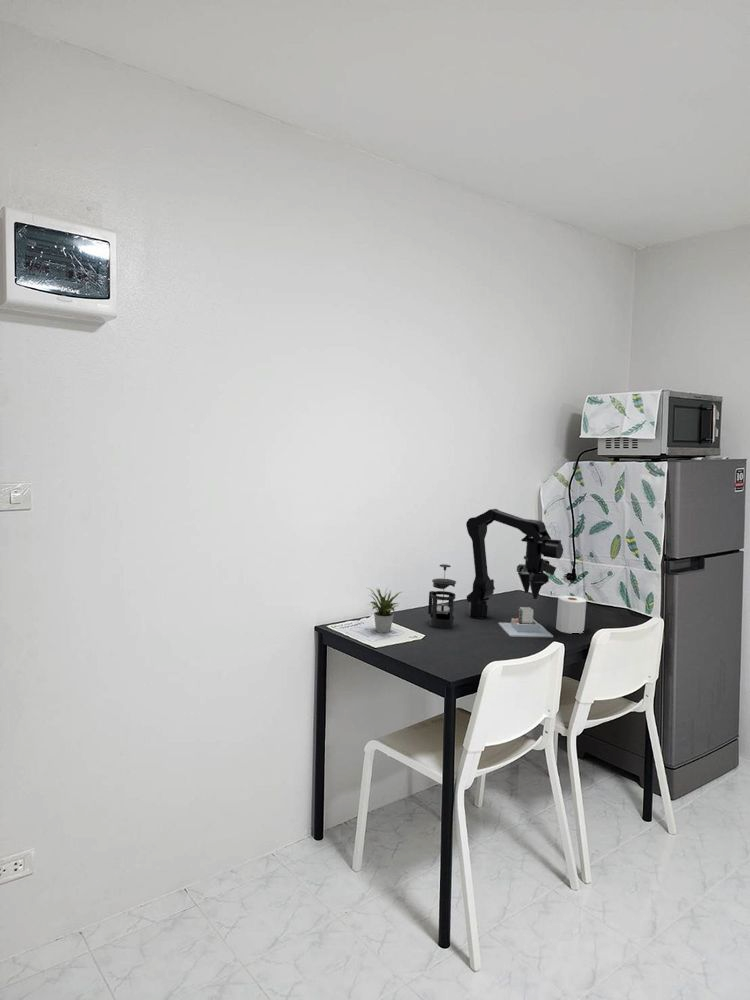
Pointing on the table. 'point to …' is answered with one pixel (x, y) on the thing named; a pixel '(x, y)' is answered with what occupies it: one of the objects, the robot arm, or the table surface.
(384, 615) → the house plant
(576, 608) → the toilet paper
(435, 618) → the french press
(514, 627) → the stand base
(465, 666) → the table surface
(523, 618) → the column
